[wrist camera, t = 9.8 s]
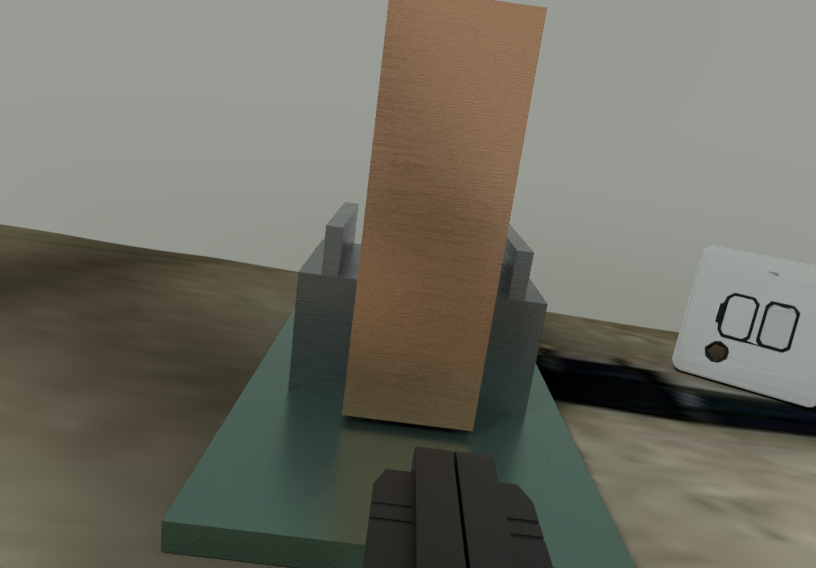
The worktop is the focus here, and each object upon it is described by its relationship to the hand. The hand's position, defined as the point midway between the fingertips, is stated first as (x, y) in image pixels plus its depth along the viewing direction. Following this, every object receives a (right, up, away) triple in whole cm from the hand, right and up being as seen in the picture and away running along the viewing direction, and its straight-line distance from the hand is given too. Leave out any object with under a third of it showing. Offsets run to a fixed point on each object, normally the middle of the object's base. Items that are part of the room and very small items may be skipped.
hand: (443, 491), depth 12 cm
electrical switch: (+23, -3, +33) cm, 40 cm away
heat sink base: (-1, -2, +22) cm, 23 cm away
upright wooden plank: (-1, -1, +22) cm, 22 cm away
